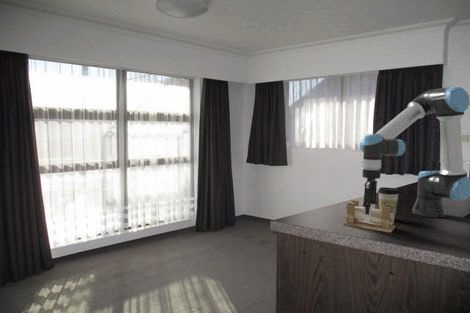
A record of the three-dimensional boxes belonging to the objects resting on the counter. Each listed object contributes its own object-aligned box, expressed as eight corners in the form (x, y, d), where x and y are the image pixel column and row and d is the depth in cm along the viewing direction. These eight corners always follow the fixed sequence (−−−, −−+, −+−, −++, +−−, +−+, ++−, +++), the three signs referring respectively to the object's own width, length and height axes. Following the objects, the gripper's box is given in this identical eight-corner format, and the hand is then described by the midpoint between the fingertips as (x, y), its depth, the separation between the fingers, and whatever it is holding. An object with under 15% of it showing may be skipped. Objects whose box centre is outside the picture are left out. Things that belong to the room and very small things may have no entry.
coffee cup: (389, 222, 173) (391, 190, 172) (372, 217, 181) (373, 187, 180) (402, 220, 178) (404, 189, 177) (384, 215, 186) (386, 186, 185)
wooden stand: (349, 221, 173) (350, 199, 172) (394, 228, 162) (395, 204, 162) (343, 225, 166) (344, 202, 165) (390, 232, 155) (392, 208, 154)
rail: (347, 215, 171) (348, 204, 171) (393, 222, 160) (394, 210, 160) (345, 217, 168) (345, 205, 167) (391, 224, 157) (392, 211, 156)
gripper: (368, 166, 173) (365, 214, 174) (357, 170, 156) (354, 223, 157) (385, 167, 169) (382, 216, 170) (375, 171, 152) (373, 225, 153)
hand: (369, 219), depth 164 cm, fingers open, 7 cm apart
